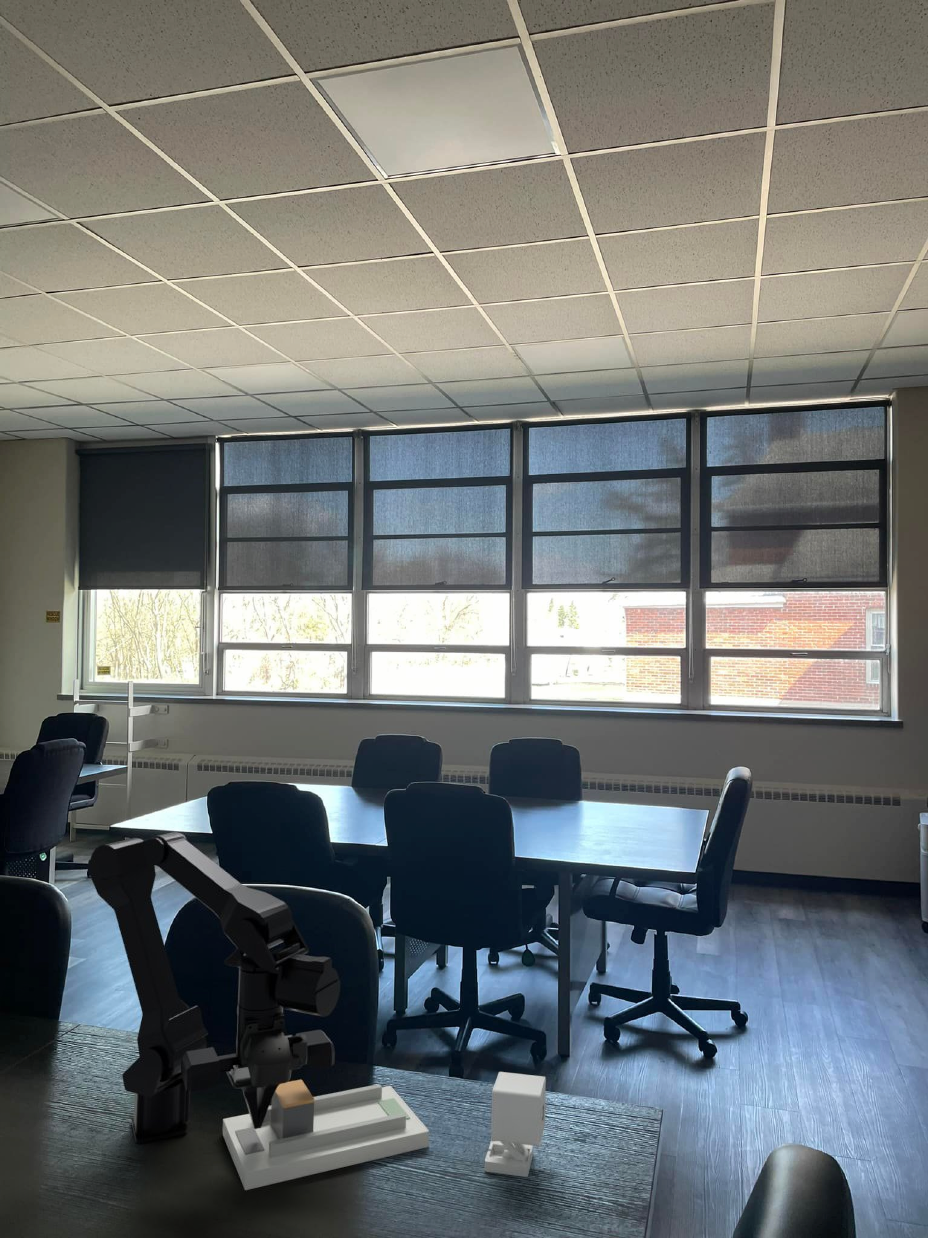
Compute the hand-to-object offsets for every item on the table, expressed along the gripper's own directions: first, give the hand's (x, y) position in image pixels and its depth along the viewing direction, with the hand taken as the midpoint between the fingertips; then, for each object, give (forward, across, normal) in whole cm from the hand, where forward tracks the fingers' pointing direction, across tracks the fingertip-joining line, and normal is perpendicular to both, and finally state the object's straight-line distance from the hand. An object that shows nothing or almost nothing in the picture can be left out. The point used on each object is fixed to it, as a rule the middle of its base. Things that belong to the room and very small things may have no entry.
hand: (256, 1127), depth 113 cm
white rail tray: (+4, +9, 0) cm, 10 cm away
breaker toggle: (+1, +5, 0) cm, 5 cm away
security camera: (+4, +30, -15) cm, 33 cm away
